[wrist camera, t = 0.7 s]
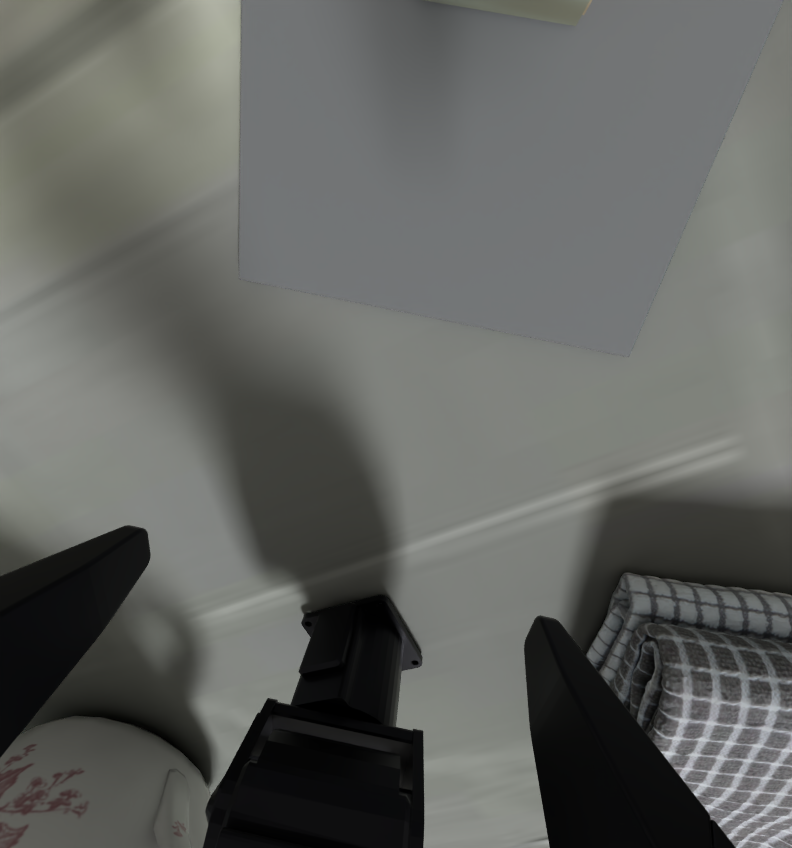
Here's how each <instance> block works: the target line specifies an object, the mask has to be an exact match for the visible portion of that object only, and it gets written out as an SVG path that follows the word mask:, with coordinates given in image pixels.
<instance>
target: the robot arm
mask: <svg viewBox="0 0 792 848" xmlns="http://www.w3.org/2000/svg"><path fill="white" fill-rule="evenodd" d="M149 560H150V547H149V540H148V533H147V531H146V530H145V529H143V528H140V527H135V526H130V525H127V526H123V527H121V528H118V529H116V530H113V531H111V532H108V533H106V534H103V535H101V536H98V537H96V538H93V539H91V540H88V541H86V542H83V543H81V544H79V545H76V546H74V547H71V548H69V549H66V550H64V551H61V552H59V553H56V554H54V555H51V556H49V557H46V558H44V559H41V560H39V561H36V562H34V563H32V564H29V565H27V566H24V567H22V568H19V569H17V570H14V571H12V572H9V573H7V574H4V575H2V576H0V758H1V756H2V755H3V754H4V753H5V752H6V750H7V749H8V748H9V747H10V745H11V744H12V743H13V742H14V740H15V739H16V738H17V737H18V736H19V734H20V733H21V732H22V731H23V729H24V728H25V727H26V726H27V724H28V723H29V722H30V721H31V719H32V718H33V717H34V716H35V715H36V713H37V712H38V711H39V710H40V708H41V707H42V706H43V705H44V703H45V702H46V701H47V700H48V698H49V697H50V696H51V695H52V694H53V692H54V691H55V690H56V689H57V687H58V686H59V685H60V684H61V682H62V681H63V680H64V679H65V677H66V676H67V675H68V674H69V673H70V671H71V670H72V669H73V668H74V666H75V665H76V664H77V663H78V661H79V660H80V659H81V658H82V656H83V655H84V654H85V653H86V652H87V650H88V649H89V648H90V647H91V645H92V644H93V643H94V642H95V640H96V639H97V638H98V637H99V635H100V634H101V633H102V631H103V630H104V629H105V627H106V626H107V625H108V623H109V622H110V620H111V619H112V617H113V616H114V614H115V613H116V611H117V610H118V609H119V607H120V606H121V604H122V603H123V601H124V600H125V598H126V597H127V595H128V594H129V592H130V591H131V589H132V588H133V586H134V585H135V583H136V582H137V580H138V579H139V577H140V576H141V574H142V573H143V571H144V570H145V569H146V567H147V565H148V563H149ZM380 603H382V604H380ZM301 624H302V626H303V627H304V629H305V630H306V631H307V633H308V634H309V636H310V637H311V638H310V641H309V644H308V647H307V649H306V652H305V655H304V658H303V661H302V663H301V666H300V669H299V673H300V674H301V676H300V679H299V682H298V685H297V687H296V690H295V693H294V696H293V699H292V702H291V705H289V704H284V703H279V702H278V700H275V699H270V698H268V699H267V700H266V702H265V704H264V706H263V708H262V710H261V712H260V713H258V714H257V715H256V717H255V719H254V721H253V723H252V725H251V727H250V729H249V731H248V732H247V734H246V736H245V738H244V740H243V742H242V744H241V746H240V748H239V750H238V751H237V753H236V755H235V757H234V759H233V761H232V763H231V765H230V767H229V769H228V770H227V772H226V774H225V776H224V777H223V779H222V780H221V782H220V783H219V785H218V786H217V788H216V789H215V791H214V792H213V794H212V795H211V797H210V799H209V801H208V803H207V806H206V810H205V814H206V818H207V822H208V828H207V832H206V836H205V841H204V845H203V848H423V841H424V759H423V731H422V730H417V729H413V731H412V730H407V729H402V728H398V727H396V720H397V710H398V700H399V691H400V681H401V671H403V670H408V669H413V668H418V667H420V666H421V665H422V655H421V654H420V652H419V650H418V649H417V647H416V645H415V643H414V642H413V640H412V638H411V637H410V635H409V633H408V632H407V630H406V628H405V627H404V625H403V623H402V621H401V620H400V618H399V616H398V615H397V613H396V611H395V610H394V608H393V606H392V605H391V603H390V601H389V599H388V598H387V597H385V596H383V595H378V596H374V597H370V598H366V599H362V600H359V601H355V602H351V603H347V604H343V605H339V606H335V607H332V608H328V609H324V610H320V611H316V612H312V613H309V614H306V615H304V617H303V619H302V623H301ZM524 655H525V668H526V682H527V696H528V710H529V722H530V731H531V738H532V745H533V751H534V757H535V763H536V769H537V774H538V780H539V786H540V792H541V798H542V804H543V810H544V816H545V822H546V828H547V834H548V840H549V846H550V848H736V847H735V846H734V844H733V843H732V842H731V841H730V839H729V838H728V837H727V835H726V834H725V833H724V832H723V830H722V829H721V828H720V826H719V825H718V824H717V823H716V822H715V821H714V820H711V818H710V814H709V813H708V811H707V810H706V809H705V808H704V806H703V805H702V804H701V802H700V801H699V800H698V799H697V797H696V796H695V795H694V793H693V792H692V791H691V790H690V788H689V787H688V786H687V785H686V783H685V782H684V781H683V779H682V778H681V777H680V776H679V774H678V773H677V772H676V770H675V769H674V768H673V767H672V765H671V764H670V763H669V762H668V760H667V759H666V758H665V756H664V755H663V754H662V753H661V751H660V750H659V749H658V747H657V746H656V745H655V744H654V742H653V741H652V740H651V739H650V737H649V736H648V735H647V733H646V732H645V731H644V730H643V728H642V727H641V726H640V724H639V723H638V722H637V721H636V719H635V718H634V717H633V716H632V714H631V713H630V712H629V710H628V709H627V708H626V707H625V705H624V704H623V703H622V701H621V700H620V699H619V698H618V696H617V695H616V694H615V693H614V691H613V690H612V689H611V687H610V686H609V685H608V684H607V682H606V681H605V680H604V678H603V677H602V676H601V675H600V673H599V672H598V671H597V670H596V668H595V667H594V666H593V664H592V663H591V662H590V661H589V659H588V658H587V657H586V655H585V654H584V653H583V652H582V650H581V649H580V648H579V647H578V645H577V644H576V643H575V641H574V640H573V639H572V638H571V636H570V635H569V634H568V632H567V631H566V630H565V629H564V627H563V626H562V625H561V624H560V622H559V621H557V620H556V619H554V618H549V617H545V616H537V617H536V618H535V620H534V622H533V624H532V626H531V629H530V631H529V633H528V635H527V637H526V640H525V645H524Z"/></svg>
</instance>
